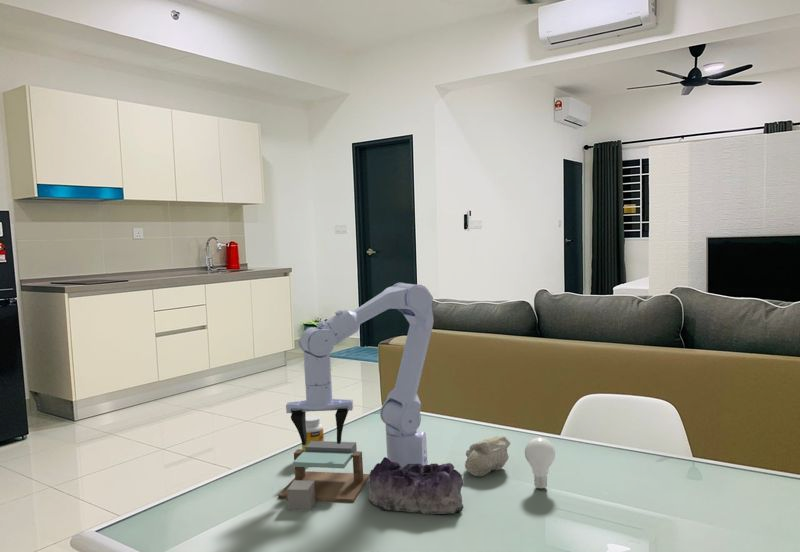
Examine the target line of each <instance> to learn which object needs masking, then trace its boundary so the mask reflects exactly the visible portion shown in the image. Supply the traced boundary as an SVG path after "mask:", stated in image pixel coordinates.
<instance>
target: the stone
mask: <svg viewBox="0 0 800 552" xmlns="http://www.w3.org/2000/svg"><path fill="white" fill-rule="evenodd" d="M287 498H288V499H287ZM287 498H286V499H287V509H288V511H299V512H301V511H303V512H304V511H305V512H310V510H311V509H312V507H313V506H314V504H315V502H316V501H317V500H316V499H315V482H314V481H308V480H294V481H293V482H292V484H291V485H290V486H289V488H288V489H287Z"/></svg>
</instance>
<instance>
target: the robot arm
mask: <svg viewBox="0 0 800 552" xmlns="http://www.w3.org/2000/svg"><path fill="white" fill-rule="evenodd" d="M433 301H434V297H433V295H432V294H431V292H430V291H429V289H428V288H427V287H426V286H425V285H423V284H418V283H417V284H413V283H405V282H397V283H395V284H393V285H392V286H389V287H386V288H385V289H384V290H383V291H381V292H380V293H378V294H377V295H375V296H374V297H373V298H371V299H369V300H368V301H366V302H365V303H364V304H362V305H360V306H359V307H357V308H356V309H354V310H353V311H351V310H348V309H344V310H341V309H338V310H337V311H335V312H334V314H335V315H334V316H332V317H330V318H328V319H326V320H325V321H324V322H323V321H319V322H317V327H308V328H306V329H305V330H303V332H302V334H301V335H300V338H299V340H298V346H299V348H300V349H301V351H302V352H303V361H304V363H303V368H304V369H303V370H304V381H305V382H304V383H305V385H304V386H305V399H306V400H305V399H304V400H299V401H298V400H297V401H289V402H287V403H286V404H285V411H286V412H285V413H286V414H291V416H290V419H291V421H292V423H293V425H294V426H295V428H296V430H297V432H298V434H299V437H300V441H301V446H302V445H306V443H307V434H306V417H307V416H306V415H307V412H327V411H336V412H335V414H334V415H335V424H336V425H335V426H336V442H337V444H340V443H341V442H342V436H343V428H344V425H345V422H346V419H347V416H348V414H349V411H354V400H353V399H340V398H333V384H332V369H331V368H332V367H331V353H332V352H333V349H334V347H336V346H337V345H338V344H340V343H342V342H343V341H346V339H348V338H350V337H352V336H353V335H355V334H356V333H358V331H359V330H360V326H361V324H363V323H365V322H366V321H369V320H371V319H373V318H375V317H376V316H378V315H379V314H382V313H383V312H386V311H388V310H390V309H391V310H392V309H393V310H397V311H398V312H400V313H402V315H403V316H404V318H405V319H406V321H407V322H408V324H409V327H408V331H407V335H406V339H405V343H404V349H403V353H402V356H401V360H400V364H399V370H398V372H397V376H396V377H397V378H396V381H395V385H394V388H393V389H391V391H389V392H388V394H387V397H386V400H385V401H384V403H383V404H382V405H381V408H380V412H379V416H380V419H381V421H382V423H384V424H385V439H386V440H385V442H386V458H388V459H389V460H390V461H391V462H398V463H399V464H400V465H401V467H402V468H403V467H405V466H406V465H407V464H422V465H423V466H424V465H428V462H429V460H428V451H427V449H428V448H427V447H428V445H427V444H428V443H427V435H426V434H427V433H426V431H422V430H418V429H419V428H420V426H421V421H422V417H421V407H422V403H421V400H420V398H419V395H418V390H419V386H420V382H421V377H422V373H423V369H424V365H425V361H426V360H425V359H426V357H427V353H428V348H429V344H430V339H431V335H432V331H433V327H434V323H435V322H434V320H435V319H434V313H433V308H432V307H433V306H432V304H433Z"/></svg>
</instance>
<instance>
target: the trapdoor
mask: <svg viewBox="0 0 800 552" xmlns="http://www.w3.org/2000/svg"><path fill="white" fill-rule="evenodd" d="M357 449H358V448H357V442H356V441H355V442H354V441H341V443H340V444H337V441H331V440H330V441H328V440H327V441H326V440H324V441H311V442H310V443H309V444H308V445H307V446H306V447H305V450H306V452H303V453H302V454H301V455H300V456H299V457H298V458H297V459H296V460H295V461H294V460H293V462H292V463H293V466H292V467H294V466H296V467H305V468H318V469H319V468H322V469H323V468H326V469H342V470H344V469H345V468H346V467H347V465H348V464H349V462H351V460H353V454H354V453H355V451H358V450H357Z"/></svg>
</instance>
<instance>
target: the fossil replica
mask: <svg viewBox="0 0 800 552" xmlns="http://www.w3.org/2000/svg"><path fill="white" fill-rule="evenodd" d="M510 445H511V441H510V440H509V439H508V438H507V437H506V436H505V435H502V436H494V437H491V438H485V439H483V440H481V441H479V442H476V443H475V442H474V443H472V444H471V445H470V446H469V449H467V450H466V451H465V456H466V457H467V458H466V460H465V463H464V467H465V470H466V471H467V472H468V473H470V474H471V475H473V476H475V477H478V478H479V477H485V476H486V475H487V474H488V473H490V472H491V471H499V470H501V469H502V468H503V467H504V466H505V465H506V463H507V462H508V460H509V454H508V448H509V446H510Z"/></svg>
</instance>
